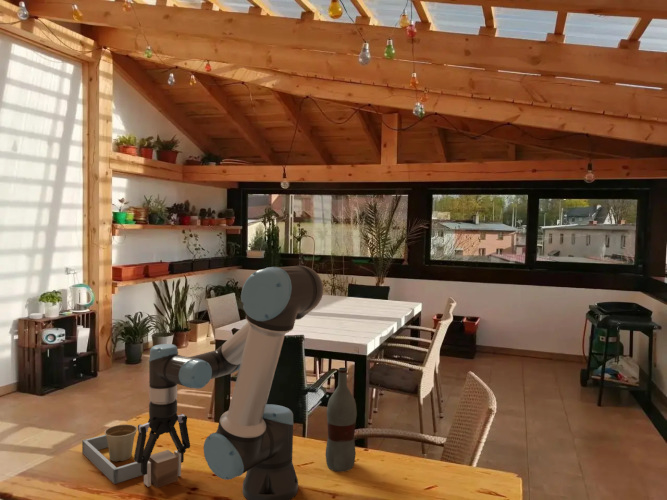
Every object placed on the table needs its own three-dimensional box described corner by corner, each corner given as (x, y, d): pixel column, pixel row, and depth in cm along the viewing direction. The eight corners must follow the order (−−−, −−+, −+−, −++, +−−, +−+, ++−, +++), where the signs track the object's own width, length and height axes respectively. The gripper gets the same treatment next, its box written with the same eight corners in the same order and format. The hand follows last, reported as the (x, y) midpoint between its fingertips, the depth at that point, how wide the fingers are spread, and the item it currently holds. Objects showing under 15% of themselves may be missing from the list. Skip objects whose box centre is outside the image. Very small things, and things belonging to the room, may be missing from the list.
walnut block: (177, 480, 145) (177, 456, 145) (157, 488, 141) (157, 463, 141) (167, 473, 149) (168, 449, 149) (147, 479, 145) (148, 455, 145)
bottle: (339, 456, 164) (342, 362, 162) (361, 465, 157) (364, 368, 156) (318, 465, 157) (321, 368, 156) (340, 475, 150) (343, 374, 149)
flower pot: (142, 451, 163) (142, 425, 162) (128, 465, 154) (128, 437, 153) (114, 450, 164) (114, 423, 163) (98, 463, 154) (98, 435, 154)
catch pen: (162, 468, 152) (162, 455, 152) (114, 484, 142) (114, 470, 142) (126, 440, 171) (127, 429, 171) (82, 452, 161) (82, 440, 161)
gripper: (190, 389, 154) (190, 463, 155) (120, 404, 140) (119, 486, 141) (203, 395, 149) (202, 472, 150) (131, 412, 134) (131, 497, 135)
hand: (162, 479), depth 145 cm, fingers open, 8 cm apart
